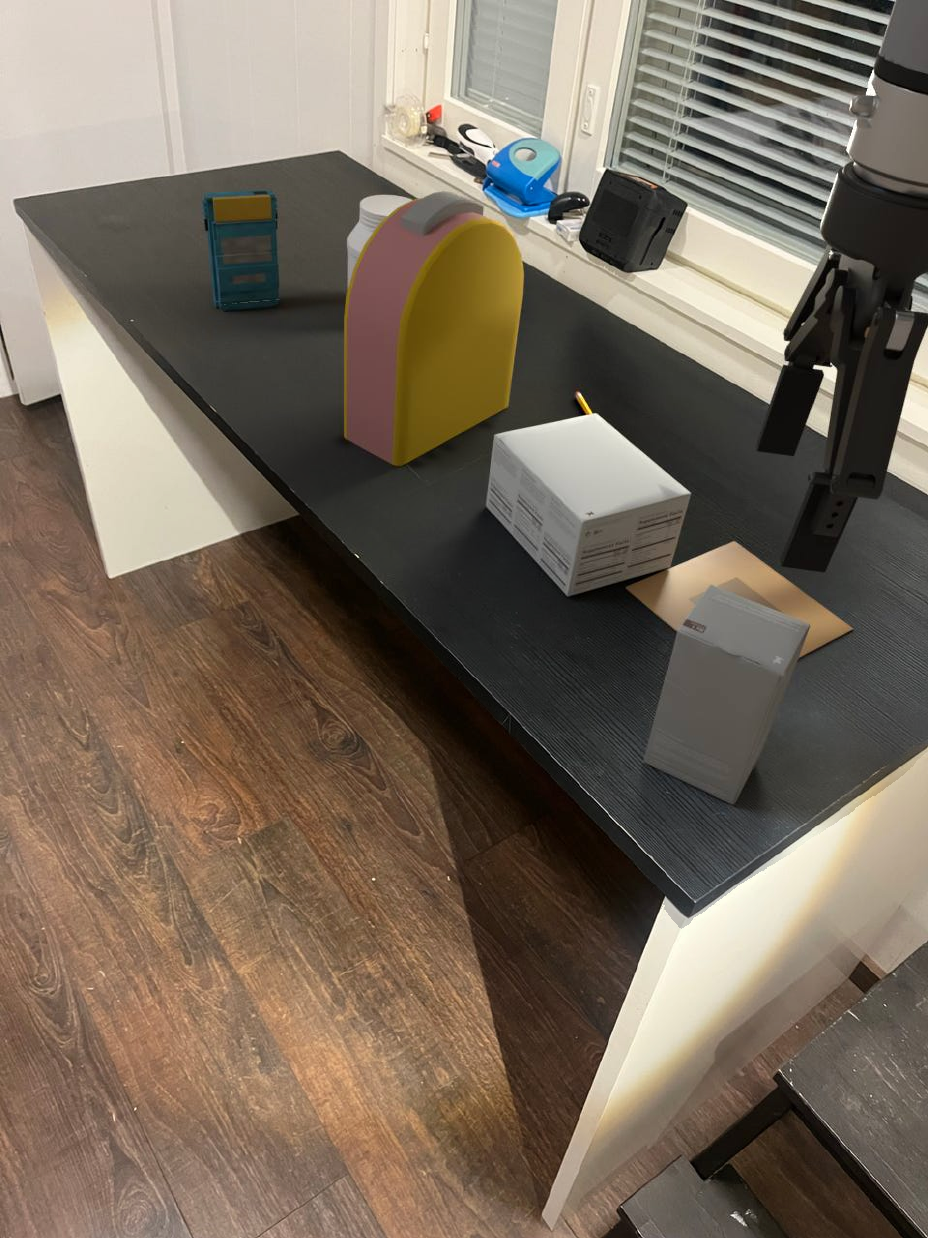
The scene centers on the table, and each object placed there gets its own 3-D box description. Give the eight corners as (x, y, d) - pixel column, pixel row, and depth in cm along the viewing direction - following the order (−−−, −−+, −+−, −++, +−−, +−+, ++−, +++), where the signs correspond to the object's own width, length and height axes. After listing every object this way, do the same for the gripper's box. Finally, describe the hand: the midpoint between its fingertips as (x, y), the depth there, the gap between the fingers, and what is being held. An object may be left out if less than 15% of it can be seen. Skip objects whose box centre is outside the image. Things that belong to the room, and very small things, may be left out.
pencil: (579, 396, 124) (580, 391, 123) (613, 452, 114) (614, 447, 114) (573, 396, 123) (574, 391, 123) (607, 452, 114) (608, 447, 113)
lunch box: (456, 378, 124) (474, 165, 107) (510, 405, 120) (539, 188, 103) (341, 436, 112) (340, 205, 94) (398, 467, 108) (409, 232, 90)
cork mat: (853, 629, 94) (853, 628, 94) (742, 688, 86) (742, 687, 86) (734, 541, 103) (734, 540, 103) (625, 587, 95) (625, 587, 95)
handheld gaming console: (277, 295, 138) (273, 188, 128) (285, 308, 135) (281, 199, 125) (210, 301, 135) (199, 191, 125) (216, 314, 132) (206, 203, 122)
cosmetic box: (758, 759, 80) (822, 620, 69) (728, 815, 75) (792, 676, 65) (666, 714, 83) (714, 574, 72) (632, 765, 78) (678, 624, 68)
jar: (374, 334, 132) (377, 224, 122) (334, 308, 137) (334, 200, 127) (438, 315, 138) (446, 209, 128) (397, 291, 143) (402, 187, 133)
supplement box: (673, 568, 98) (695, 492, 92) (566, 600, 93) (582, 522, 87) (583, 481, 109) (598, 409, 103) (483, 506, 104) (492, 431, 97)
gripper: (806, 105, 60) (717, 405, 74) (894, 252, 41) (752, 616, 55) (926, 120, 59) (813, 419, 74) (1069, 275, 41) (881, 635, 55)
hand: (787, 504), depth 64 cm, fingers open, 13 cm apart
